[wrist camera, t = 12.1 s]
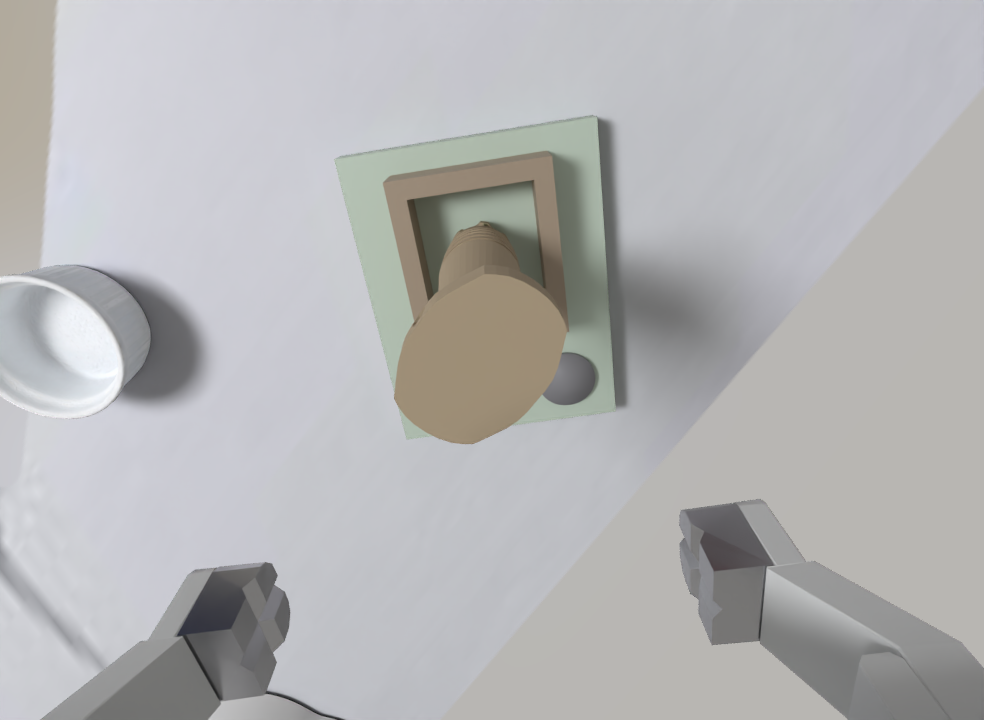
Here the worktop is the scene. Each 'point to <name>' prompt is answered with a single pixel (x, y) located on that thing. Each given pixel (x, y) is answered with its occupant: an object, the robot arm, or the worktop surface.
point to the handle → (479, 343)
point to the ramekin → (68, 340)
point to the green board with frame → (510, 210)
